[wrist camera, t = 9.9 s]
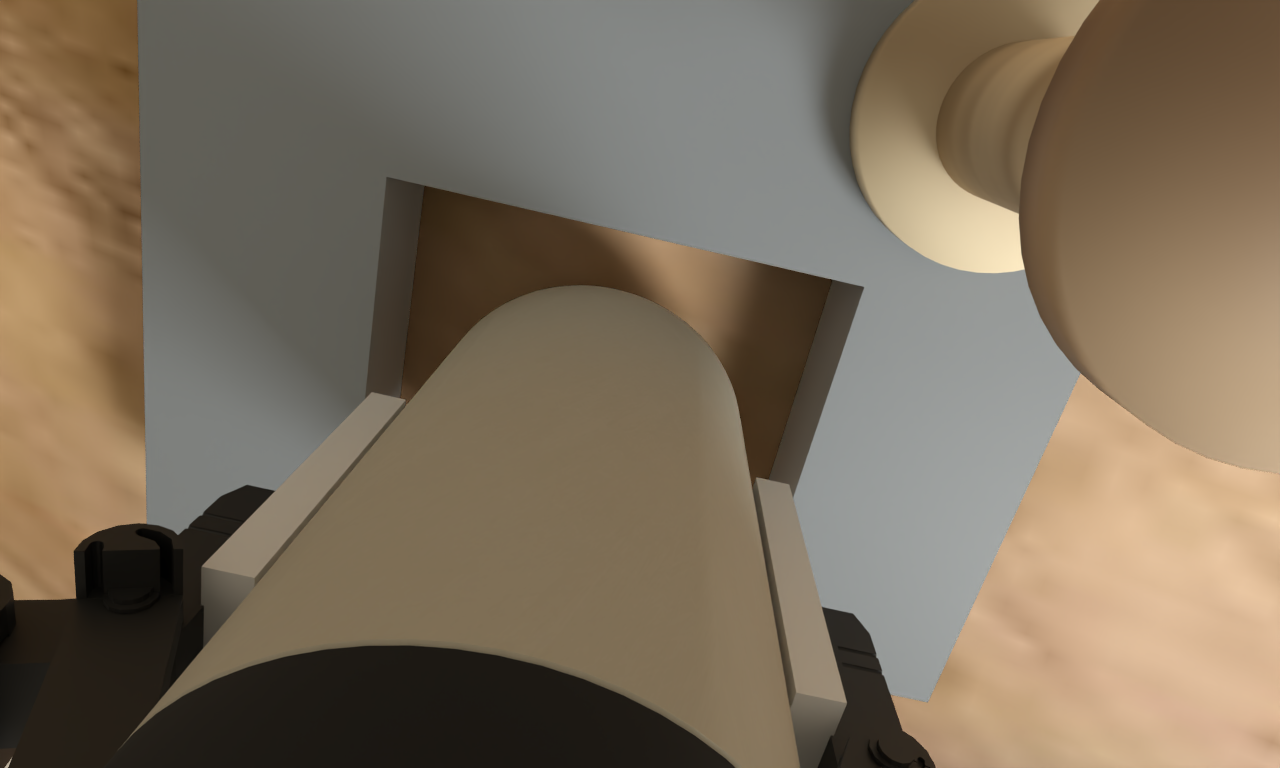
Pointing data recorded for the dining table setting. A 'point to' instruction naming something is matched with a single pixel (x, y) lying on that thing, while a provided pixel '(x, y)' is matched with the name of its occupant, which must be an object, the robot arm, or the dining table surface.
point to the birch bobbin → (1101, 188)
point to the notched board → (588, 192)
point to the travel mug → (514, 574)
